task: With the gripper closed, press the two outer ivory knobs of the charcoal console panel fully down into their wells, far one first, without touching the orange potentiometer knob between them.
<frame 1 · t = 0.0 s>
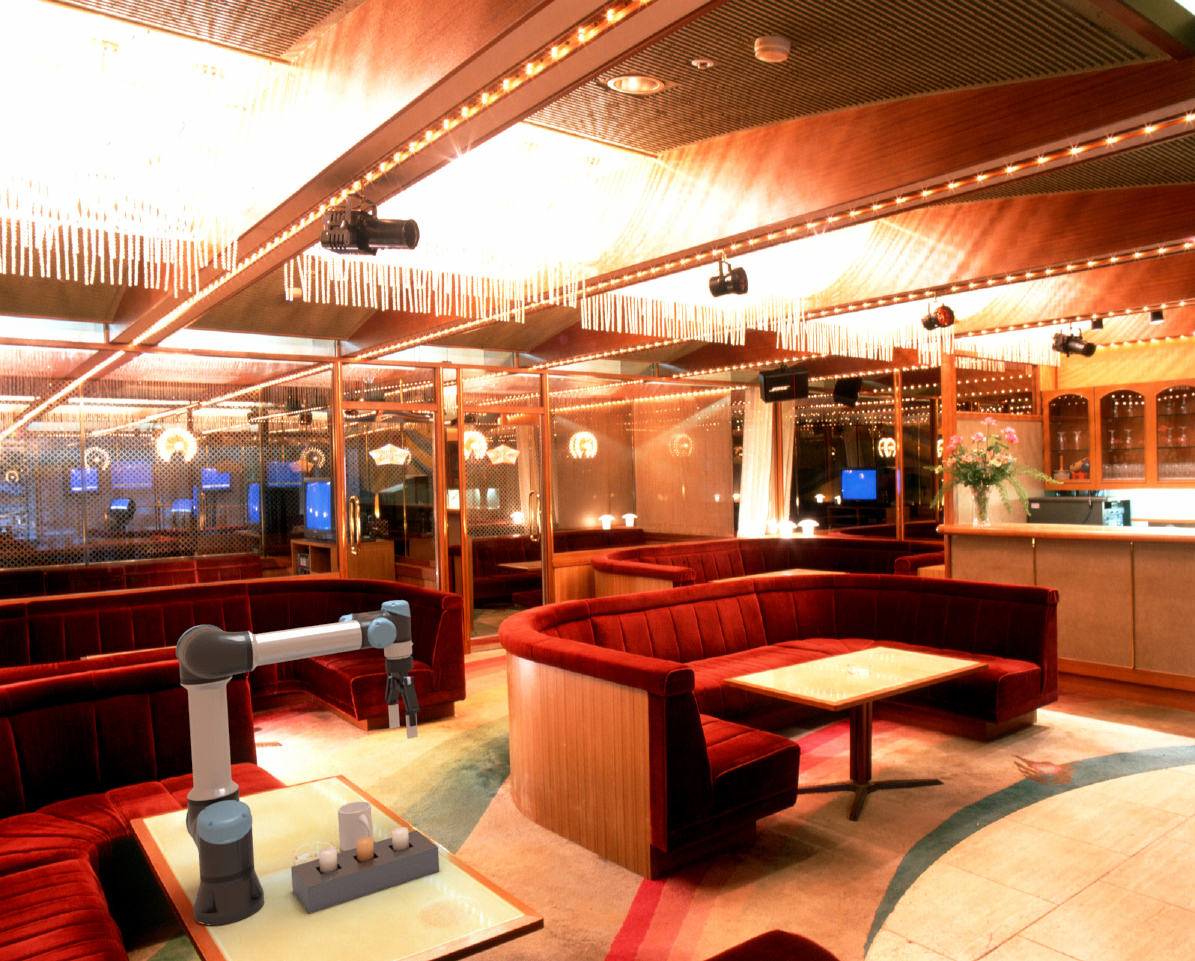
hand: (403, 732, 236), 28 cm above the table, fingers open, 13 cm apart
panel: (367, 881, 208), on the table
knob mid: (365, 850, 208), point 7 cm above the table, slide at 0.0 cm
knob near: (328, 861, 203), point 8 cm above the table, slide at 0.0 cm
mug: (359, 849, 228), on the table
knob far: (400, 840, 213), point 7 cm above the table, slide at 0.0 cm
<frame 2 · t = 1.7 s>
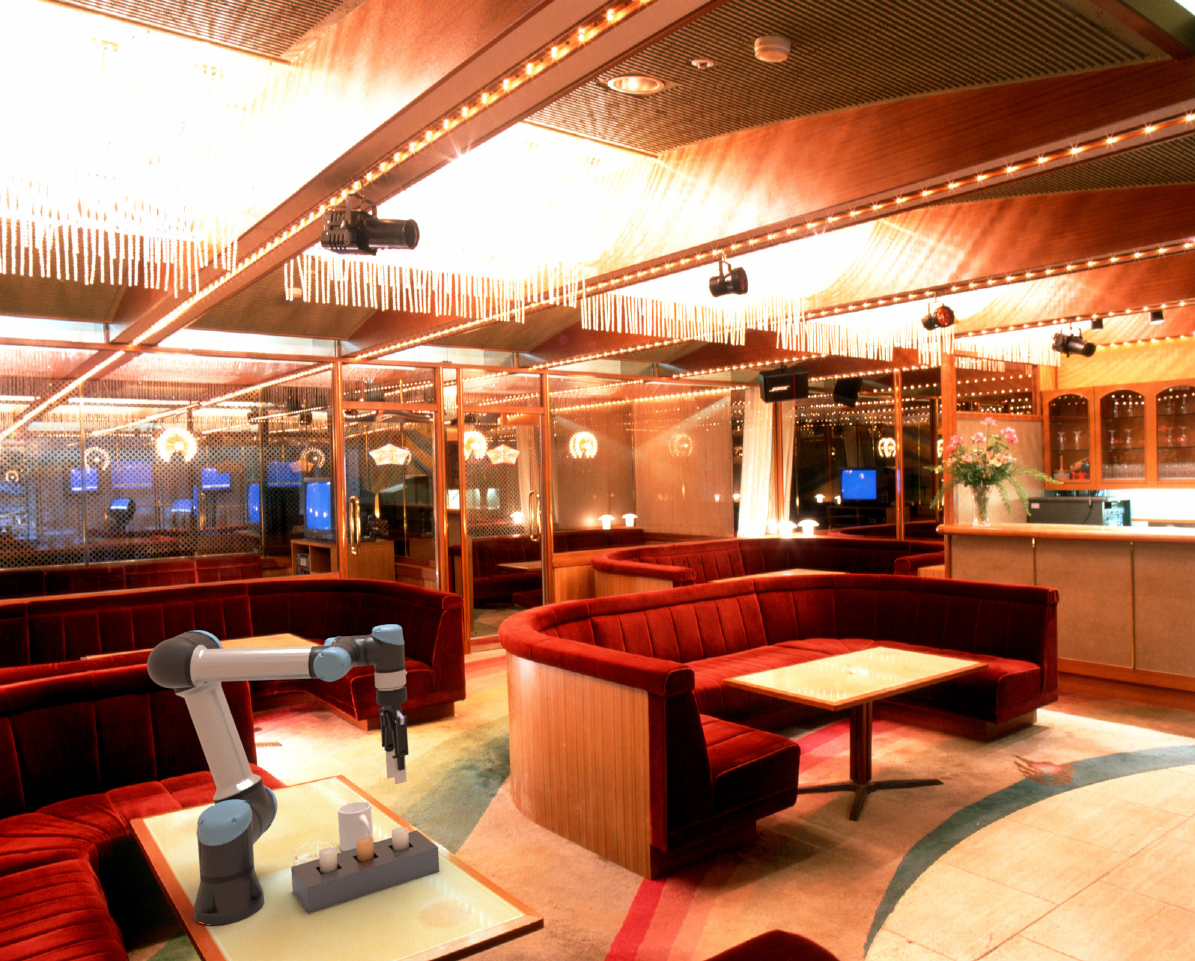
hand: (396, 779, 213), 23 cm above the table, fingers open, 5 cm apart
nothing on the table moved.
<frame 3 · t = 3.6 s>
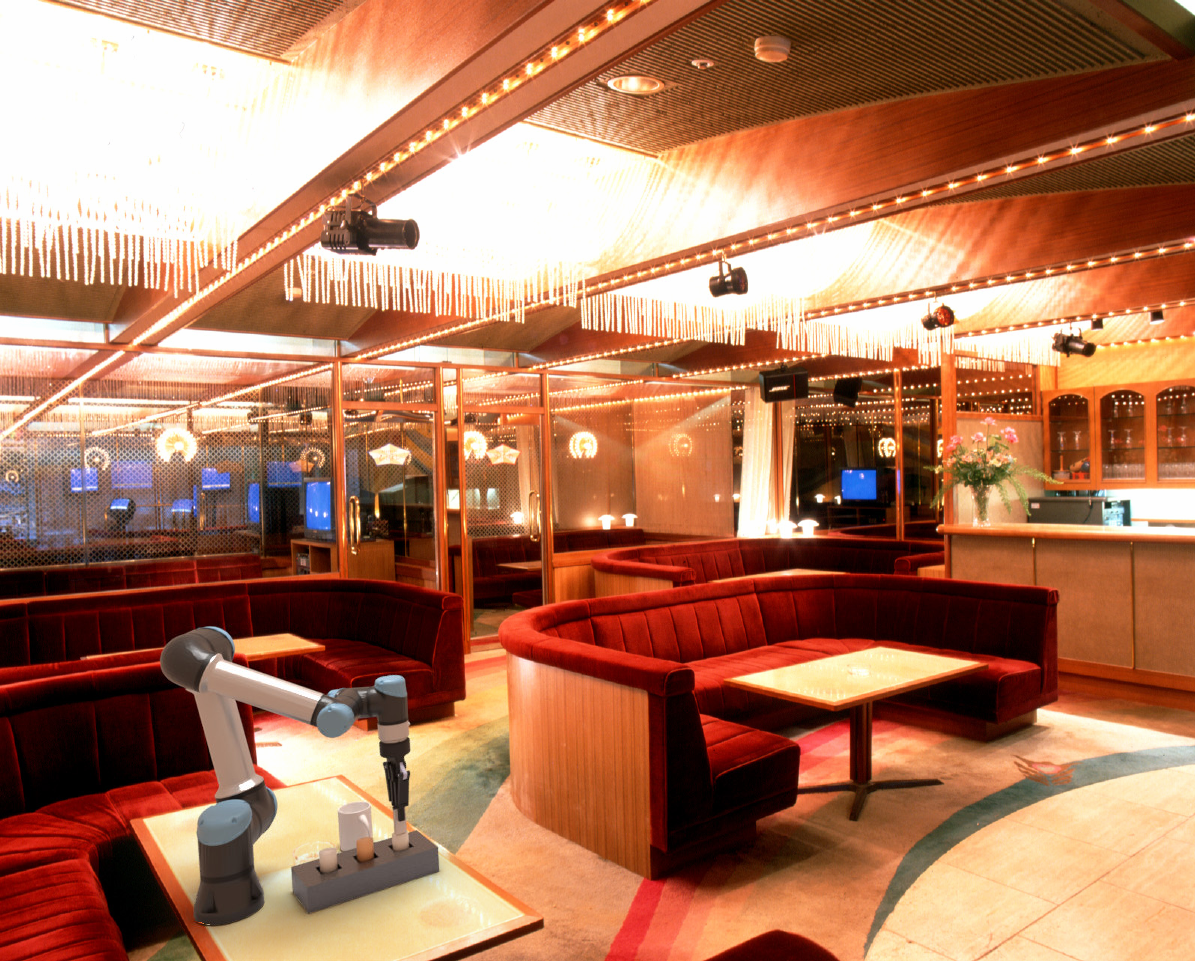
hand: (400, 832, 213), 9 cm above the table, fingers closed
knob far: (400, 843, 213), point 7 cm above the table, slide at 0.8 cm, touching gripper
everything else where it was.
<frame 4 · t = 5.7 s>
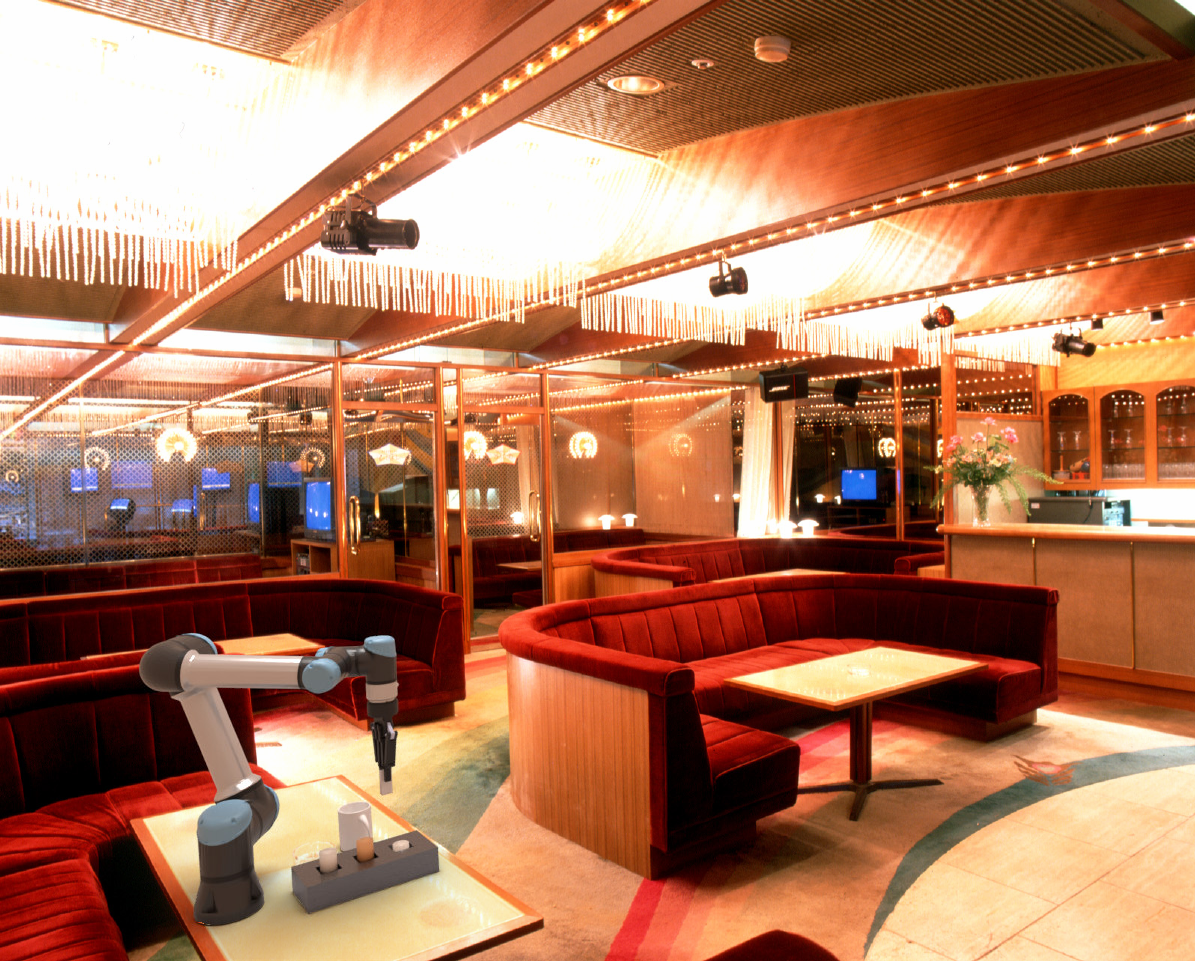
hand: (386, 793, 211), 20 cm above the table, fingers closed
knob far: (401, 853, 213), point 4 cm above the table, slide at 3.3 cm
everything else where it was.
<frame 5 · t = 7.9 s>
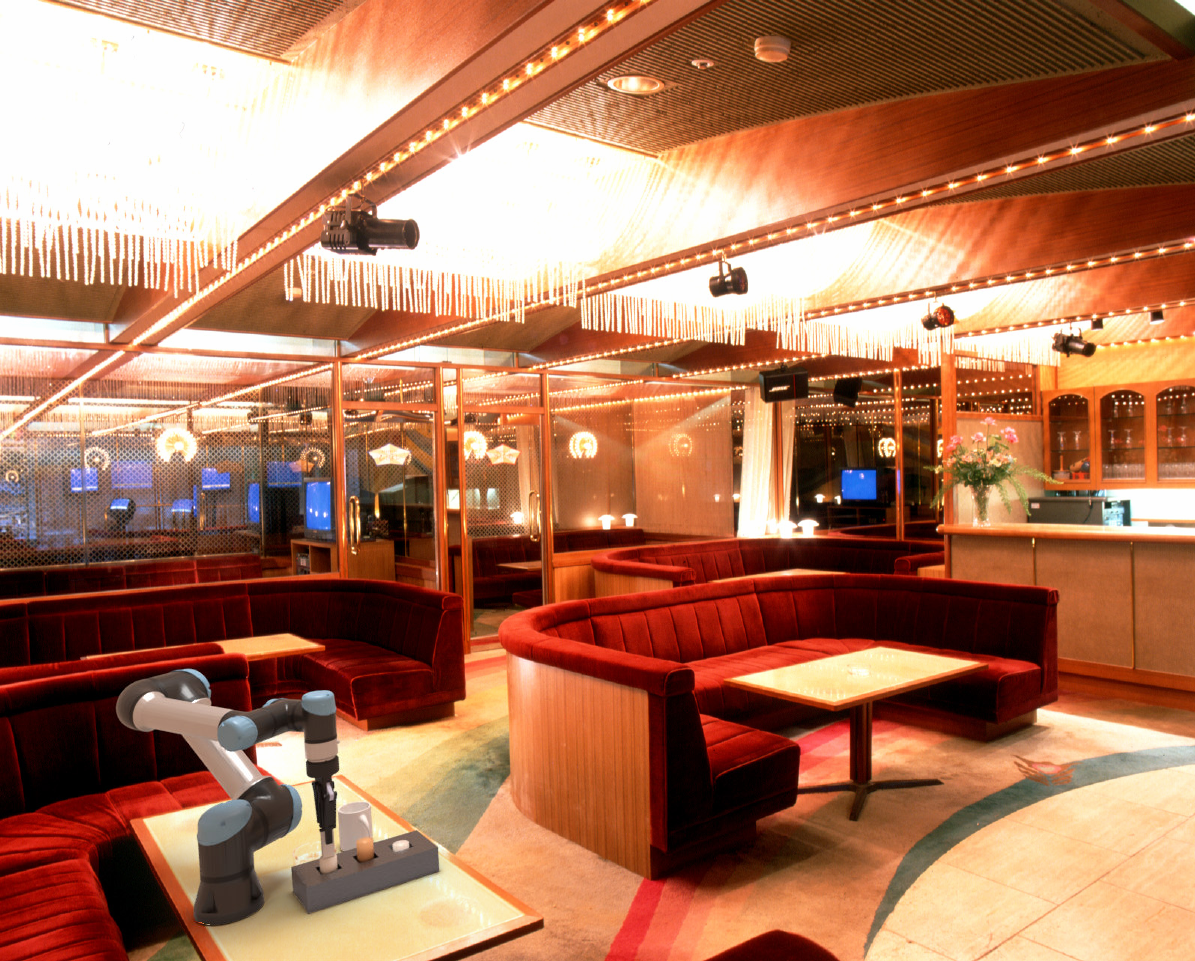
hand: (328, 855, 203), 9 cm above the table, fingers closed
knob near: (328, 867, 203), point 6 cm above the table, slide at 1.4 cm, touching gripper
everything else where it was.
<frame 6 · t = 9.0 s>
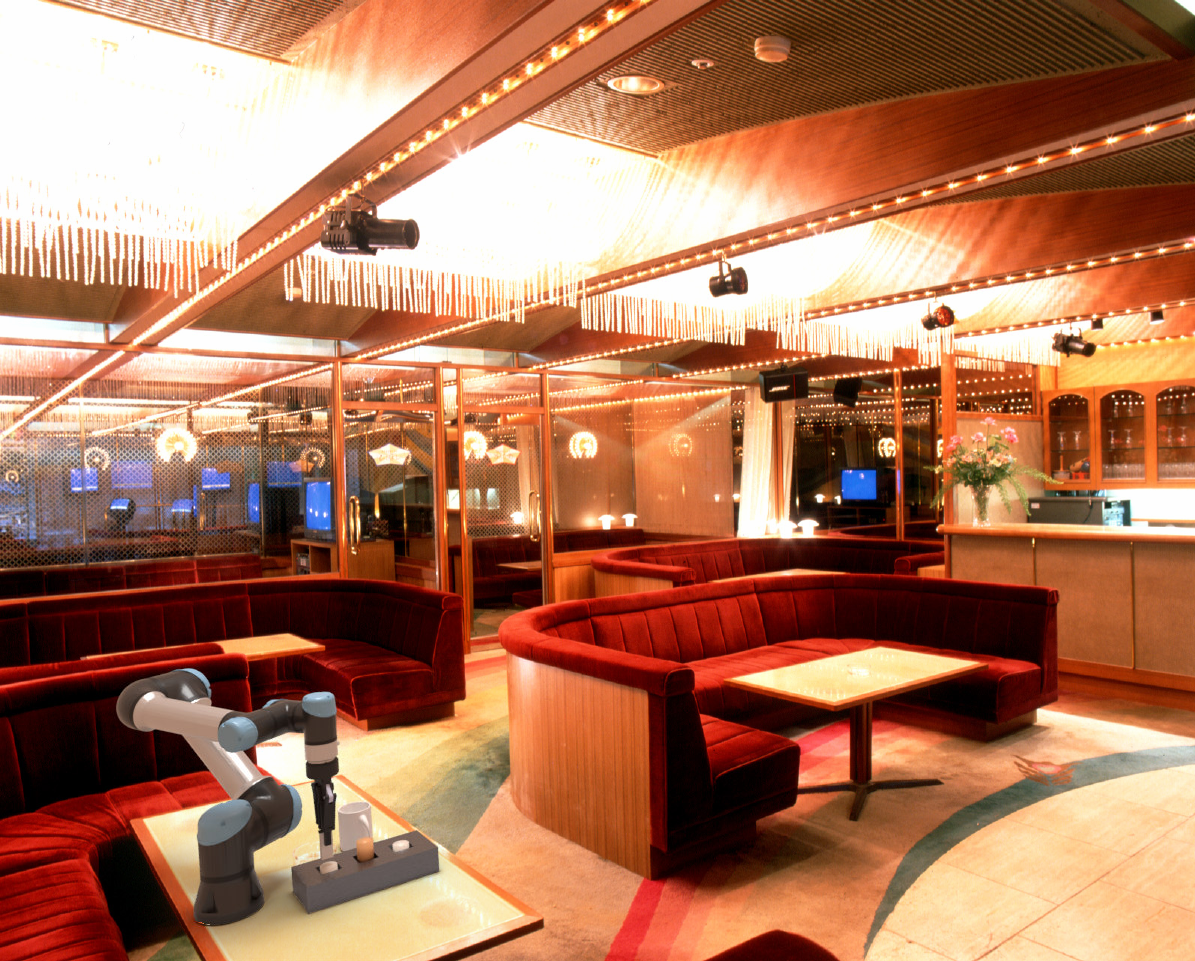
hand: (327, 857, 203), 9 cm above the table, fingers closed
knob near: (329, 875, 203), point 4 cm above the table, slide at 3.3 cm
everything else where it was.
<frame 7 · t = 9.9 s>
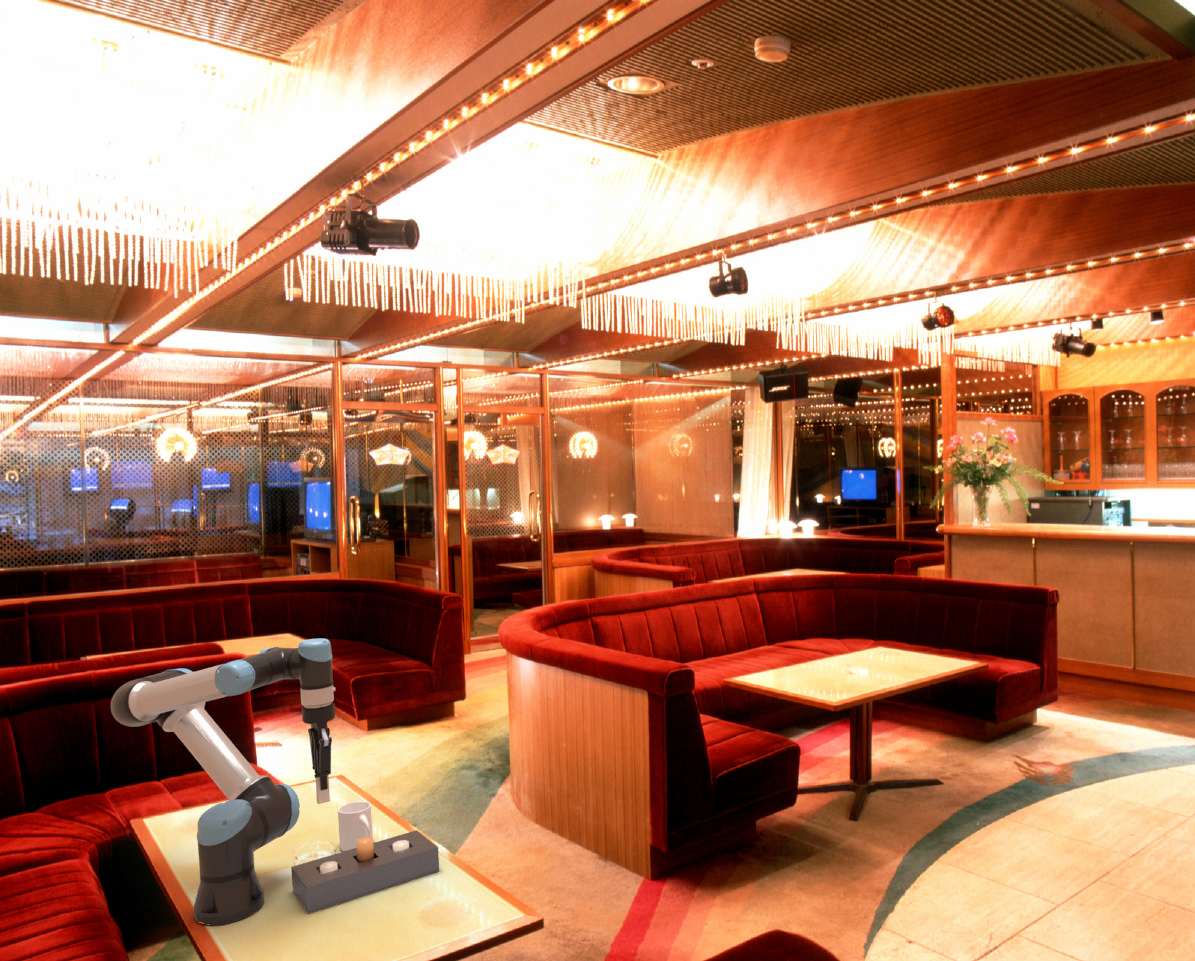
hand: (323, 801, 204), 21 cm above the table, fingers closed
nothing on the table moved.
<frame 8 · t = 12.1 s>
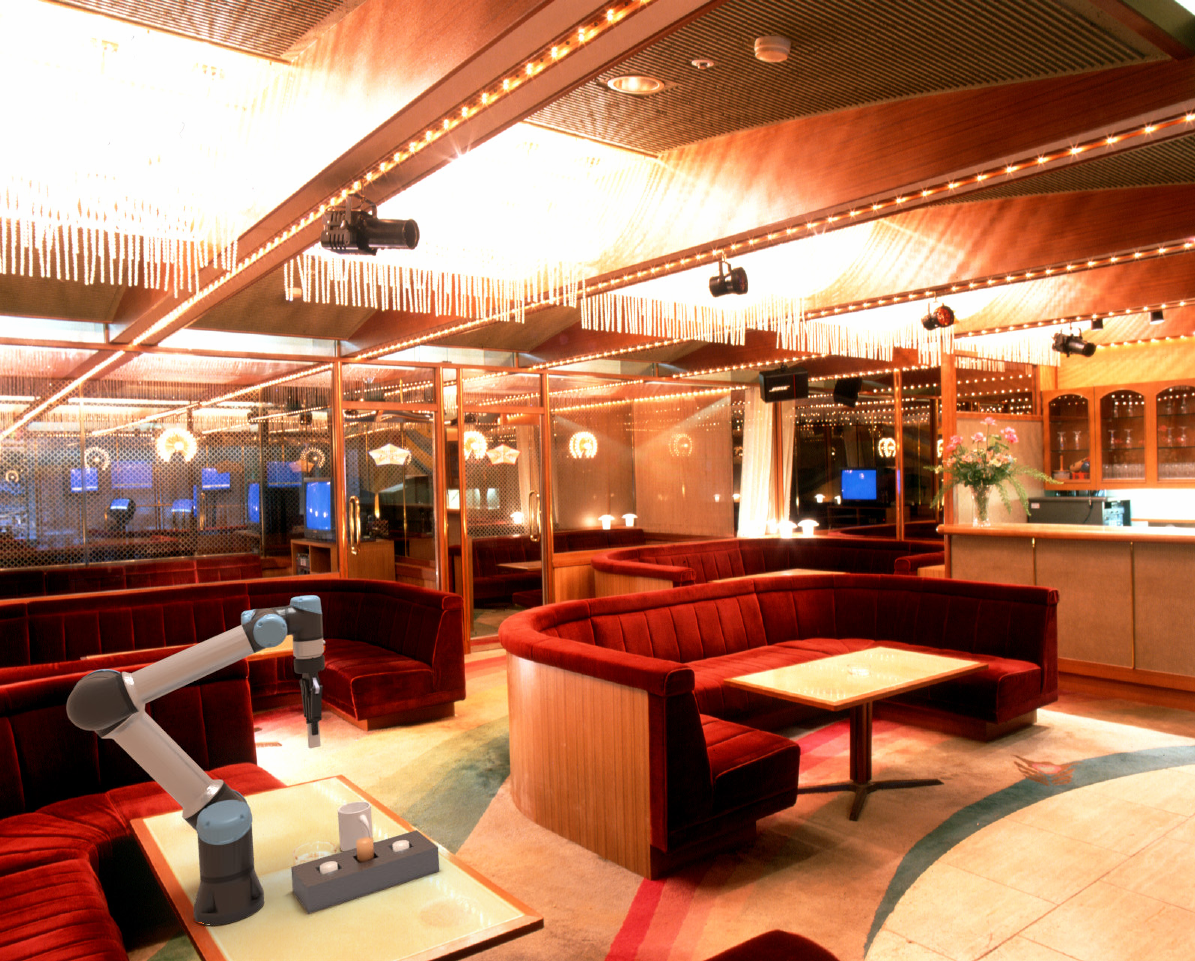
hand: (314, 746, 219), 30 cm above the table, fingers closed
nothing on the table moved.
at the end: knob far slide at 3.3 cm; knob near slide at 3.3 cm; knob mid slide at 0.0 cm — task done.
